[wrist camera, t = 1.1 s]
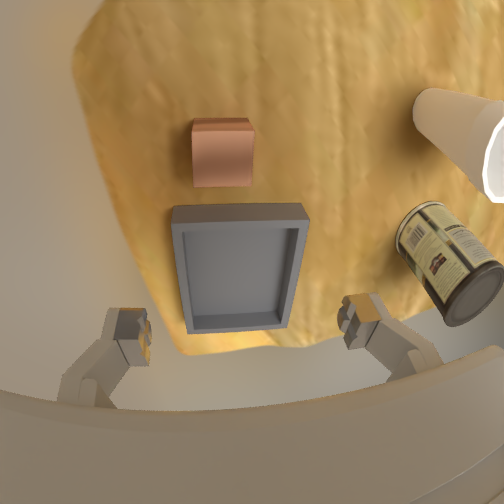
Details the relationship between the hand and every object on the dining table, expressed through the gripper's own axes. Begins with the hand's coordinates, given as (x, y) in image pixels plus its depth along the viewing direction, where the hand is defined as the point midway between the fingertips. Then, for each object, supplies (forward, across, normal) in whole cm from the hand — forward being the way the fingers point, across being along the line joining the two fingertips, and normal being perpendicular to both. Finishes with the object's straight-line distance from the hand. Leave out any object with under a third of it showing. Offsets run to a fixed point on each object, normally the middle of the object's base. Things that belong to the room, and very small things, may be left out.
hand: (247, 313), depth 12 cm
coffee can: (+21, -29, +10) cm, 37 cm away
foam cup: (+21, -24, -7) cm, 32 cm away
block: (+21, 0, -1) cm, 21 cm away
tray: (+21, -2, +15) cm, 26 cm away
